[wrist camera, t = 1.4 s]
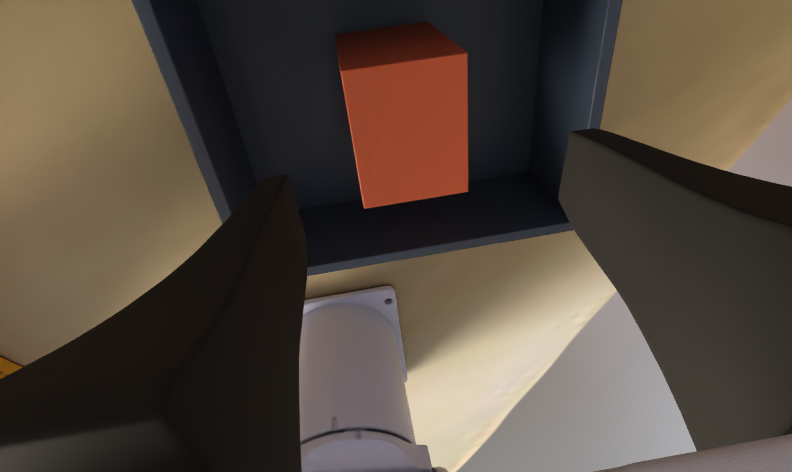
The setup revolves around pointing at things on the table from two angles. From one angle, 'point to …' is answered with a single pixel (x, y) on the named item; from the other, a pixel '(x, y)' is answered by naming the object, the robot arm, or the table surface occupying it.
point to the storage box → (329, 125)
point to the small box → (406, 112)
